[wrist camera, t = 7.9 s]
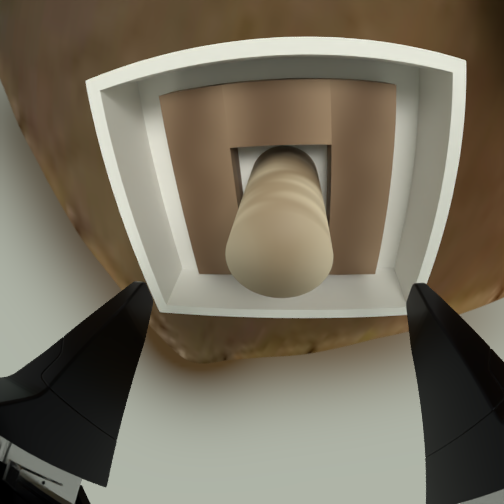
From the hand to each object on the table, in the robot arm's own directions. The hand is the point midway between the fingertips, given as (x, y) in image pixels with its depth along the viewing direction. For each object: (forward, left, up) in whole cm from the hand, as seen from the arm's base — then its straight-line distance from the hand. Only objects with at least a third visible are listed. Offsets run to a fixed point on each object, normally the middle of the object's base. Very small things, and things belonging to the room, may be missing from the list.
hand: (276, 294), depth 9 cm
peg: (0, 0, -10) cm, 10 cm away
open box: (0, 0, -11) cm, 11 cm away
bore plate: (0, 0, -10) cm, 10 cm away
